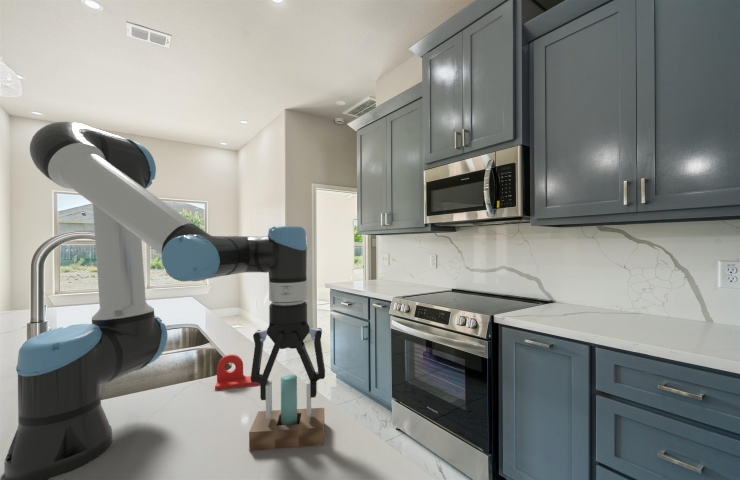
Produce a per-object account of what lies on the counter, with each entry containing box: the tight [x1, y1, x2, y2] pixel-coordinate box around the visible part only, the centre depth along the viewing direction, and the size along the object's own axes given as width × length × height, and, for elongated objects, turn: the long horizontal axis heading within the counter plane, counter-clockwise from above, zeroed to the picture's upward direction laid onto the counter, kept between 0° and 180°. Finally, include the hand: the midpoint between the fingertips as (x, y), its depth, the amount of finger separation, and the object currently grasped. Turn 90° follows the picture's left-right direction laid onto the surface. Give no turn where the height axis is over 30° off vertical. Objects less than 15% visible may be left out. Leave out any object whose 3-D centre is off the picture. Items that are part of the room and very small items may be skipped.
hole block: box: [248, 407, 325, 451], centre depth 71 cm, size 14×8×4 cm, turn 96°
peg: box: [280, 373, 298, 425], centre depth 71 cm, size 3×3×12 cm
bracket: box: [214, 353, 260, 391], centre depth 97 cm, size 12×4×8 cm, turn 106°
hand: (289, 413), depth 71 cm, fingers open, 7 cm apart
